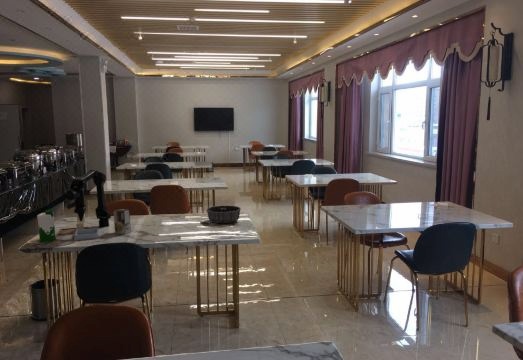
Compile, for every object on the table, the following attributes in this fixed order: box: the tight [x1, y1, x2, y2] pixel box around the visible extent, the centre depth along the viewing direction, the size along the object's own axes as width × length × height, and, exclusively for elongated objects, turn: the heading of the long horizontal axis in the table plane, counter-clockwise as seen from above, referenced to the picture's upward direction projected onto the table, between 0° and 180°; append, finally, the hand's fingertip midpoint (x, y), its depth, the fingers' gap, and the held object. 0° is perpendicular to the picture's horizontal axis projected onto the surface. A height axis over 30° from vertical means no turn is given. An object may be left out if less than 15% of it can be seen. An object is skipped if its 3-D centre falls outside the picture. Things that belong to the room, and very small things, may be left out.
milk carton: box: [36, 209, 56, 243], centre depth 284 cm, size 9×9×20 cm
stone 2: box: [76, 222, 85, 230], centre depth 308 cm, size 4×4×6 cm
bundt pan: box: [205, 205, 242, 224], centre depth 335 cm, size 26×26×10 cm
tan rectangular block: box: [76, 212, 86, 224], centre depth 292 cm, size 4×4×6 cm
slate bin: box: [73, 227, 100, 241], centre depth 295 cm, size 14×14×4 cm
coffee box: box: [113, 208, 132, 235], centre depth 303 cm, size 9×6×16 cm
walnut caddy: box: [57, 226, 90, 236], centre depth 307 cm, size 19×15×1 cm
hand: (81, 220), depth 292 cm, fingers closed on tan rectangular block, 4 cm apart
